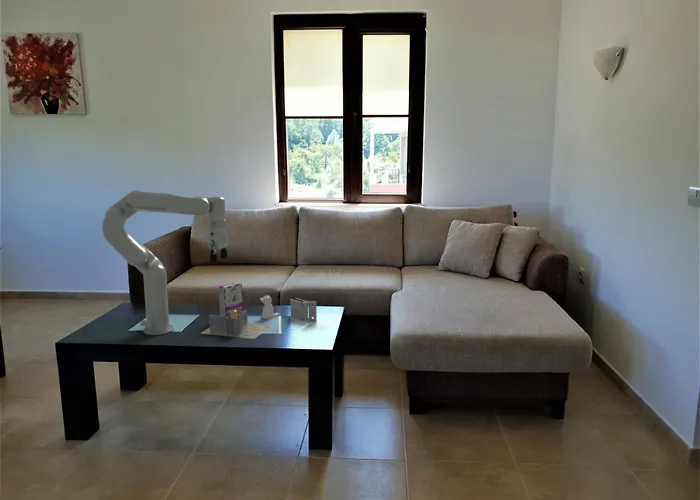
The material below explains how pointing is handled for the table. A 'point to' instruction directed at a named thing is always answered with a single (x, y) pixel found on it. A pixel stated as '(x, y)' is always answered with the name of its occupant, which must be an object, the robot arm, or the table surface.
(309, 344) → the table surface
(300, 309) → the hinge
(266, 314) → the seated beast figurine
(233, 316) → the pin
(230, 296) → the candy bar box
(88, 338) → the table surface
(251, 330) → the grey walled base plate
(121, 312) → the table surface
